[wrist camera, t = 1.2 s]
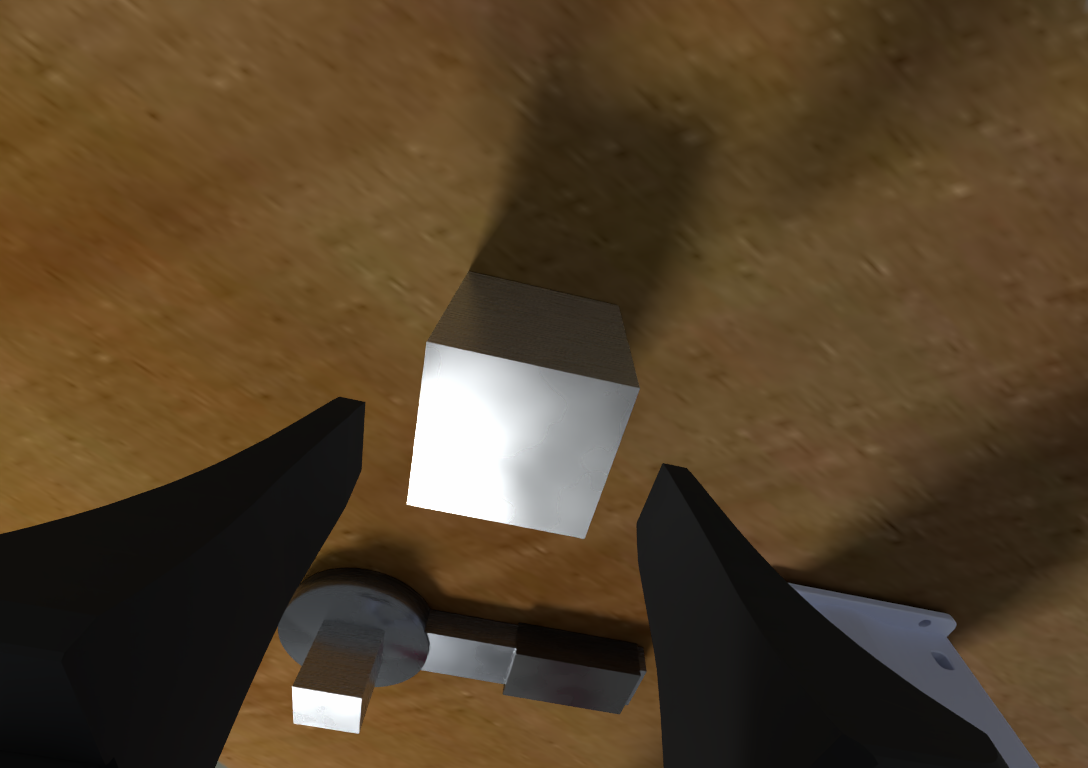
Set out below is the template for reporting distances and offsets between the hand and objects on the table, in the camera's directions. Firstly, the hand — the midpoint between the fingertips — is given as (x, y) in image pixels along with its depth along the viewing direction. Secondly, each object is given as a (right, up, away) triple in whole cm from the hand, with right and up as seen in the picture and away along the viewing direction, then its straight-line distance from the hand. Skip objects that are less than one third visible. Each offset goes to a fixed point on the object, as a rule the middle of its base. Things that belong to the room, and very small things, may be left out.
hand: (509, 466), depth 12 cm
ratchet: (-3, -11, +13) cm, 17 cm away
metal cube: (0, +3, +5) cm, 6 cm away
